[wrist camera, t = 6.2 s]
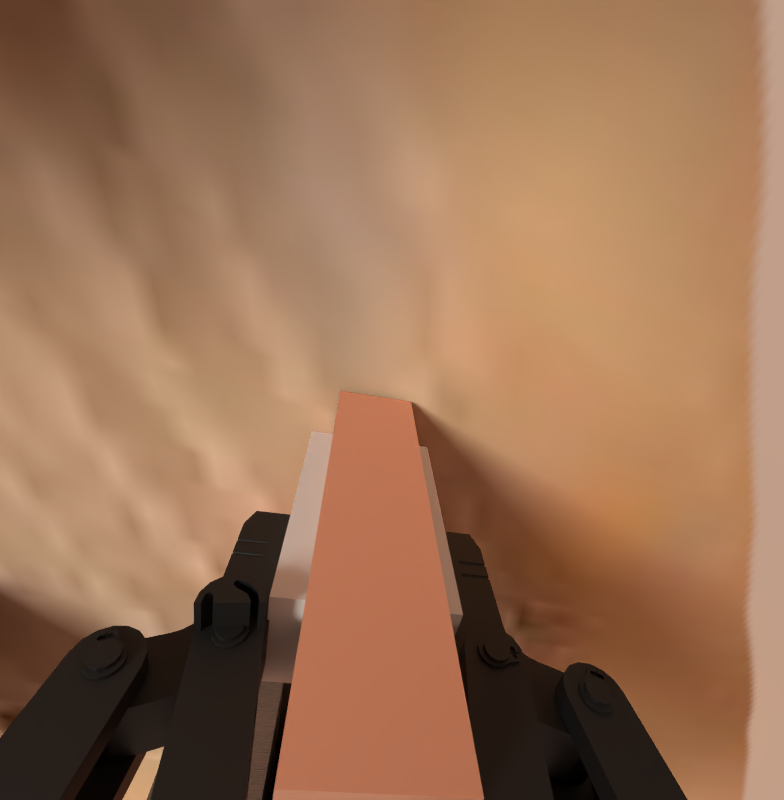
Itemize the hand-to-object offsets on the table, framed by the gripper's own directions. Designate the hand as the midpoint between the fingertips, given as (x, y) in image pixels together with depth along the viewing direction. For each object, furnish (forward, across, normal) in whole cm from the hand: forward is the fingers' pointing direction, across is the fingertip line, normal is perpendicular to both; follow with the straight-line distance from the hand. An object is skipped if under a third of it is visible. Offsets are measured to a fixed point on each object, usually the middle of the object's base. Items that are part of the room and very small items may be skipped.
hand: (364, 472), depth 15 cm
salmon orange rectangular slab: (+1, 0, -4) cm, 4 cm away
